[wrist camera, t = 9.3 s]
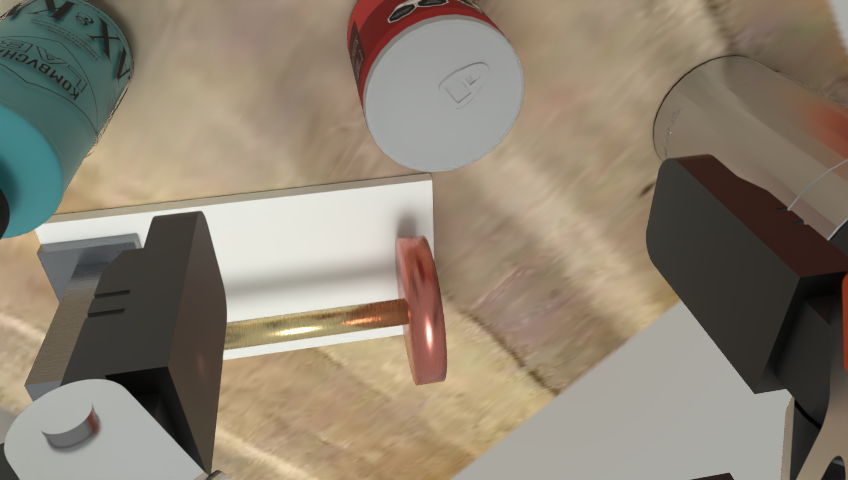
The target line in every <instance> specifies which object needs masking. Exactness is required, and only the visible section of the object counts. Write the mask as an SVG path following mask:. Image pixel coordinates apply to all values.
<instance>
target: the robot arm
mask: <svg viewBox="0 0 848 480" xmlns="http://www.w3.org/2000/svg"><path fill="white" fill-rule="evenodd" d="M654 143H655V149H656V151H657V153H658V155H659V157H660V159H661V160H662V161H663V163H662V164H661V166H660V169H659V172H658V177H657V182H656V187H655V192H654V196H653V201H652V206H651V211H650V216H649V221H648V226H647V231H646V244H647V250H648V253H649V256H650V259H651V261H652V263H653V264H654V266H655V267H656V268H657V269H658V271H659V272H660V273H661V275H662V276H663V277H664V278H665V280H666V281H667V282H668V284H669V285H670V286H671V287H672V289H673V290H674V291H675V292H676V294H677V295H678V296H679V298H680V299H681V300H682V301H683V303H684V304H685V305H686V306H687V308H688V309H689V310H690V312H691V313H692V314H693V315H694V317H695V318H696V319H697V321H698V322H699V323H700V325H701V326H702V327H703V328H704V330H705V331H706V332H707V334H708V335H709V336H710V337H711V339H712V340H713V341H714V342H715V344H716V345H717V346H718V348H719V349H720V350H721V352H722V353H723V354H724V355H725V356H726V358H727V359H728V361H729V362H730V363H731V364H732V366H733V367H734V368H735V369H736V371H737V372H738V373H739V375H740V376H741V377H742V378H743V380H744V381H745V382H746V384H747V385H748V386H749V387H750V389H751V390H752V391H753V393H754V394H758V393H764V392H770V391H776V390H781V389H787V390H788V391H789V392H790V394H791V395H792V397H791V399H790V402H789V404H788V406H787V409H786V415H785V428H784V441H783V455H782V468H781V480H848V109H847V108H845V107H843V106H841V105H840V104H838V103H836V102H834V101H833V100H831V99H829V98H827V97H825V96H824V95H822V94H820V93H818V92H817V91H815V90H813V89H811V88H810V87H808V86H806V85H804V84H803V83H801V82H799V81H797V80H796V79H794V78H792V77H790V76H788V75H787V74H785V73H783V72H774V71H773V70H771V69H769V68H768V67H766V66H764V65H762V64H761V63H759V62H757V61H754V60H752V59H750V58H747V57H740V56H730V57H722V58H719V59H715V60H712V61H709V62H707V63H705V64H703V65H701V66H699V67H697V68H696V69H694V70H693V71H692V72H690V73H689V74H687V75H686V76H685V77H684V78H683V79H682V80H681V81H680V82H679V83H678V84H677V85H676V86H675V87H674V88H673V89H672V90H671V92H670V93H669V94H668V96H667V97H666V98H665V100H664V102H663V104H662V106H661V108H660V110H659V112H658V115H657V118H656V122H655V126H654ZM94 297H95V299H92V301H91V304H90V307H89V309H88V312H87V318H85V320H84V323H83V325H82V328H81V331H80V333H79V336H78V339H77V341H76V344H75V347H74V349H73V352H72V355H71V357H70V360H69V363H68V365H67V368H66V371H65V374H64V376H63V379H62V382H61V384H60V387H59V388H56V389H54V390H52V391H50V392H48V393H46V394H45V395H43V396H42V397H40V398H38V399H37V400H35V401H34V402H33V403H32V404H30V405H29V406H28V407H27V408H26V409H25V410H24V411H23V412H22V413H21V414H20V415H19V416H18V417H17V418H16V420H15V421H14V422H13V424H12V425H11V427H10V429H9V430H8V433H7V436H6V439H5V442H4V443H2V444H0V480H232V479H231V478H230V477H229V476H228V475H227V474H225V473H224V472H222V471H219V470H216V471H215V472H213V473H212V474H211V468H212V458H213V449H214V439H215V430H216V420H217V411H218V401H219V391H220V382H221V372H222V363H223V353H224V344H225V334H226V325H227V304H226V295H225V289H224V285H223V281H222V277H221V273H220V269H219V265H218V262H217V258H216V254H215V250H214V247H213V243H212V239H211V235H210V231H209V228H208V224H207V221H206V218H205V215H204V214H203V212H202V211H194V212H185V213H176V214H168V215H159V216H154V217H153V219H152V221H151V224H150V228H149V231H148V234H147V237H146V241H145V244H144V247H143V248H138V249H130V250H123V251H122V252H121V253H120V254H119V255H118V256H117V257H116V258H115V259H114V260H113V261H112V262H111V263H110V265H109V266H108V267H107V268H106V269H105V270H104V271H103V272H102V274H101V277H100V280H99V282H98V285H97V288H96V290H95V293H94ZM692 480H734V479H733V478H732V476H731V474H730V473H725V474H720V475H714V476H709V477H703V478H698V479H692Z"/></svg>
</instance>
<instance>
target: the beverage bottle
mask: <svg viewBox="0 0 848 480" xmlns="http://www.w3.org/2000/svg"><path fill="white" fill-rule="evenodd" d="M24 1H25V0H24ZM20 4H21V2H20ZM20 4H18V5H16V6H14V8H13V9H12V10H11V9H10V10H9V11H8V12H9V13H8V12H6V13H8V14H7V16H6V17H5V16H4V15H5V14H6V13H5V14H4V15H2V16H4V17H5V19H4V20H1V19H0V20H1V22H0V239H3V238H11V237H15V236H19V235H22V234H25V233H28V232H30V231H32V230H34V229H36V228H38V227H39V226H41V225H42V224H44V223H45V222H46V221H47V220H48V219H49V218H50V217H51V216H52V215H53V214H54V213H55V211H56V210H57V208H58V206H59V204H60V203H61V201H62V198H63V195H64V192H65V190H66V189H67V187H68V185H69V184H70V182H71V180H72V178H73V177H74V175H75V173H76V171H77V170H78V168H79V166H80V165H81V163H82V161H83V159H84V158H85V156H86V155H87V154H88V152H89V151H90V150H91V147H92V146H93V144H94V143H95V141H96V139H97V137H98V135H99V133H100V131H101V130H102V128H103V126H104V124H105V123H106V121H108V120H111V118H110V119H108V118H109V117H110V116H111V115H114V114H113V113H114V112H115V110H117V108H118V106H119V104H120V102H121V101H120V102H119V101H118V99H119V97H120V96H121V94H122V92H123V90H124V89H125V87H126V85H127V83H128V81H130V74H131V67H132V65H131V62H132V61H131V55H130V50H129V47H130V46H128V44H129V43H128V44H127V42H128V41H126V40H127V39H125V38H126V37H124V36H125V35H123V32H122V31H121V29H120V28H119V27H118V25H117V24H116V23H115V22H114V21H113V20H112V19H111V18H110V17H109V16H108V15H107V14H106V13H104V12H103V11H102V10H100V9H99V8H97V7H96V6H94V5H93V4H91V3H89V2H87V1H85V0H30V1H28V2H26V3H24V4H23V5H21V6H20ZM19 6H20V7H19ZM18 7H19V8H18ZM17 8H18V9H17ZM2 16H1V17H2ZM1 17H0V18H1ZM130 49H131V48H130ZM131 53H132V51H131ZM132 57H133V55H132ZM133 72H134V62H133ZM131 76H132V75H131ZM131 78H133V77H131ZM131 81H132V80H131ZM128 86H129V85H128ZM128 88H129V87H128ZM128 88H127V89H128ZM126 91H127V90H126ZM126 91H125V93H126ZM125 93H124V95H125ZM124 95H123V97H124ZM123 97H122V99H123ZM122 99H120V100H122ZM117 101H118V102H119V104H118V105H117V108H114V106H115V105H116V103H118V102H117ZM112 110H114V112H113V113H112V114H111V112H112ZM110 114H111V115H110ZM107 119H108V120H107ZM109 123H110V121H109ZM105 125H106V124H105ZM106 126H107V125H106ZM106 126H105V127H106ZM104 131H105V129H104ZM104 131H103V133H104ZM101 133H102V132H101ZM101 133H100V134H101ZM102 135H103V134H102ZM101 137H102V136H101ZM98 141H99V140H98ZM98 141H97V143H98ZM94 146H95V145H94ZM92 148H93V147H92ZM89 155H90V154H89ZM89 155H88V156H89ZM86 157H87V156H86Z"/></svg>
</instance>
